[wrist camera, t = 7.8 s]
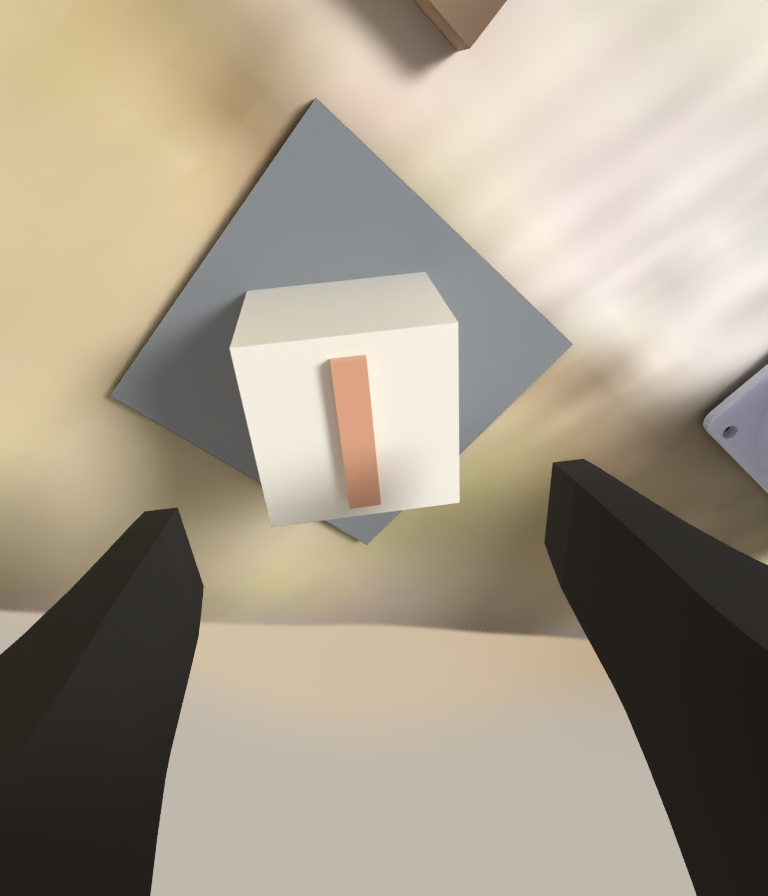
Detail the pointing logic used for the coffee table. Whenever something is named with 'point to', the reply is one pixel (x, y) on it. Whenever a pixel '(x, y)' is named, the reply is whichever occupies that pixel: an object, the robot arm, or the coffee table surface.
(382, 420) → the cream cube
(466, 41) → the post stand
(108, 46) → the coffee table surface
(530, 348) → the mat
